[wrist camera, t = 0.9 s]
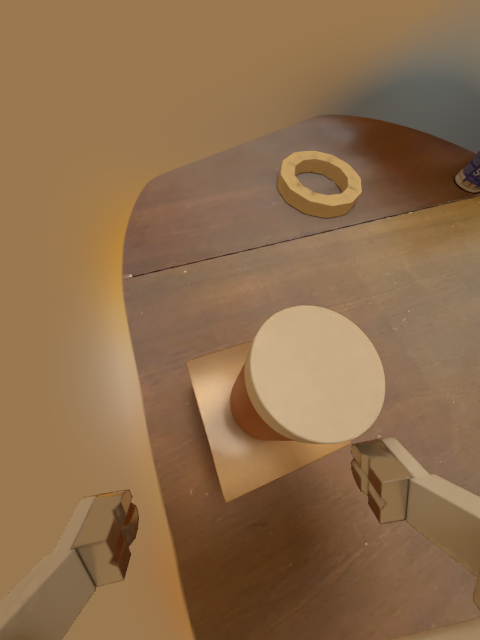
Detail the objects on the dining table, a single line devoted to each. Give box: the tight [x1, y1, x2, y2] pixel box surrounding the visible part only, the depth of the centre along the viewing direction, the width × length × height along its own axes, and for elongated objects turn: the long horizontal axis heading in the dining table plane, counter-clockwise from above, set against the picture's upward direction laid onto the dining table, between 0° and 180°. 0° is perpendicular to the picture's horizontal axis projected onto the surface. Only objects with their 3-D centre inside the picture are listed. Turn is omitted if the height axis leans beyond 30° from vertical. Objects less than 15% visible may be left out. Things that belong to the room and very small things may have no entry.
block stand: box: [186, 341, 351, 503], centre depth 21 cm, size 9×9×9 cm
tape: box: [277, 151, 362, 218], centre depth 42 cm, size 14×14×2 cm
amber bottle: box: [230, 305, 385, 444], centre depth 13 cm, size 5×5×9 cm
